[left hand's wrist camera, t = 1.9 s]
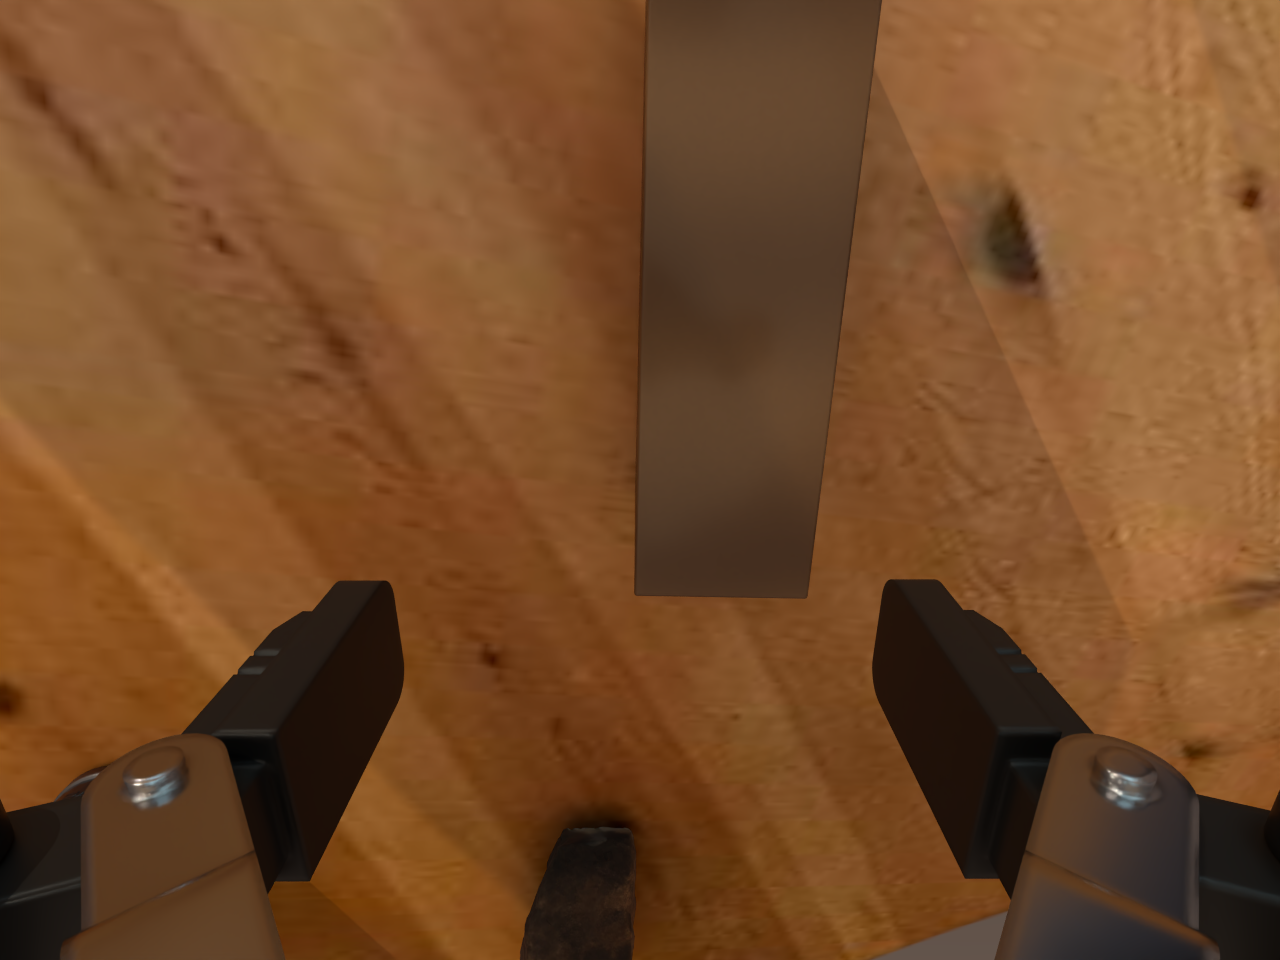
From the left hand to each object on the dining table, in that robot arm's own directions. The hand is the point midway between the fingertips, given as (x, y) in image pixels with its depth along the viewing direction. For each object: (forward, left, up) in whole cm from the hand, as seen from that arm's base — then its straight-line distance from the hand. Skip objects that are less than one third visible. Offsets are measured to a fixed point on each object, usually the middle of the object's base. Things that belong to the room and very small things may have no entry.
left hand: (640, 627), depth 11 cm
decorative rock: (-31, +2, -20) cm, 37 cm away
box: (+5, -3, -20) cm, 21 cm away
